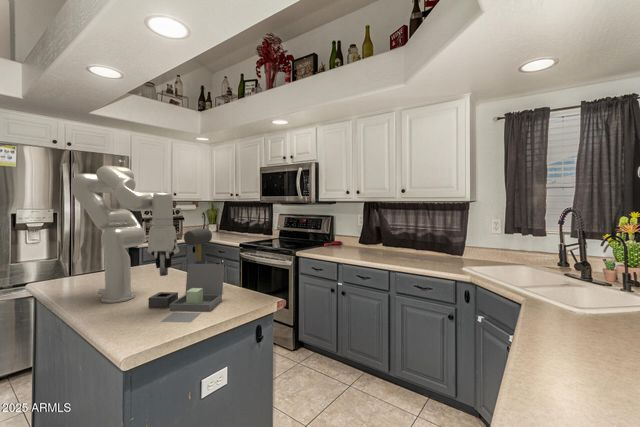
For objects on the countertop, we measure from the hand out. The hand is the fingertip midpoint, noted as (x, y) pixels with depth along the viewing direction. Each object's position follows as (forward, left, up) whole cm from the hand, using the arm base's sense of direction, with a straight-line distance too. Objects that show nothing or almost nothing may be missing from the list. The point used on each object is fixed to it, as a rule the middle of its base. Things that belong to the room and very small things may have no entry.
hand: (163, 267), depth 126 cm
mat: (+14, -13, -16) cm, 25 cm away
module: (+14, -2, -16) cm, 21 cm away
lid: (+14, +8, -7) cm, 17 cm away
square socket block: (0, 0, -16) cm, 16 cm away
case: (+14, 0, -16) cm, 21 cm away
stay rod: (0, 0, -3) cm, 3 cm away
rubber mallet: (+5, +22, -16) cm, 28 cm away
